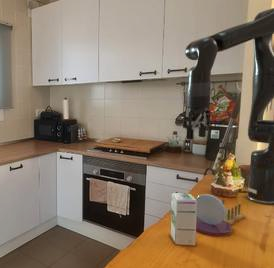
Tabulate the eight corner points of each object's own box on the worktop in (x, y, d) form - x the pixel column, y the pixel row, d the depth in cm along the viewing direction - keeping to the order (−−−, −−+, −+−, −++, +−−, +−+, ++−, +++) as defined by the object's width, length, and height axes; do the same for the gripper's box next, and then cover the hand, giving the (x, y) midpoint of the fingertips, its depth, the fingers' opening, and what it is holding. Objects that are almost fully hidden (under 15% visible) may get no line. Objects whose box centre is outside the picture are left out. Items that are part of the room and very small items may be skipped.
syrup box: (196, 246, 81) (198, 200, 79) (174, 244, 83) (176, 199, 80) (189, 236, 87) (191, 193, 85) (169, 235, 88) (171, 192, 86)
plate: (194, 217, 97) (195, 190, 96) (225, 228, 89) (227, 199, 87) (192, 218, 96) (193, 191, 95) (223, 229, 88) (225, 199, 87)
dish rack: (220, 210, 105) (221, 197, 104) (243, 217, 98) (245, 204, 98) (206, 217, 99) (207, 204, 99) (230, 225, 93) (231, 211, 92)
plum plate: (198, 214, 102) (198, 211, 101) (238, 228, 91) (239, 225, 90) (178, 224, 95) (178, 221, 95) (219, 240, 84) (219, 237, 84)
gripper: (198, 95, 94) (196, 141, 96) (219, 94, 101) (216, 137, 104) (177, 95, 100) (175, 139, 103) (198, 94, 108) (196, 135, 110)
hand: (196, 138), depth 103 cm, fingers open, 8 cm apart
